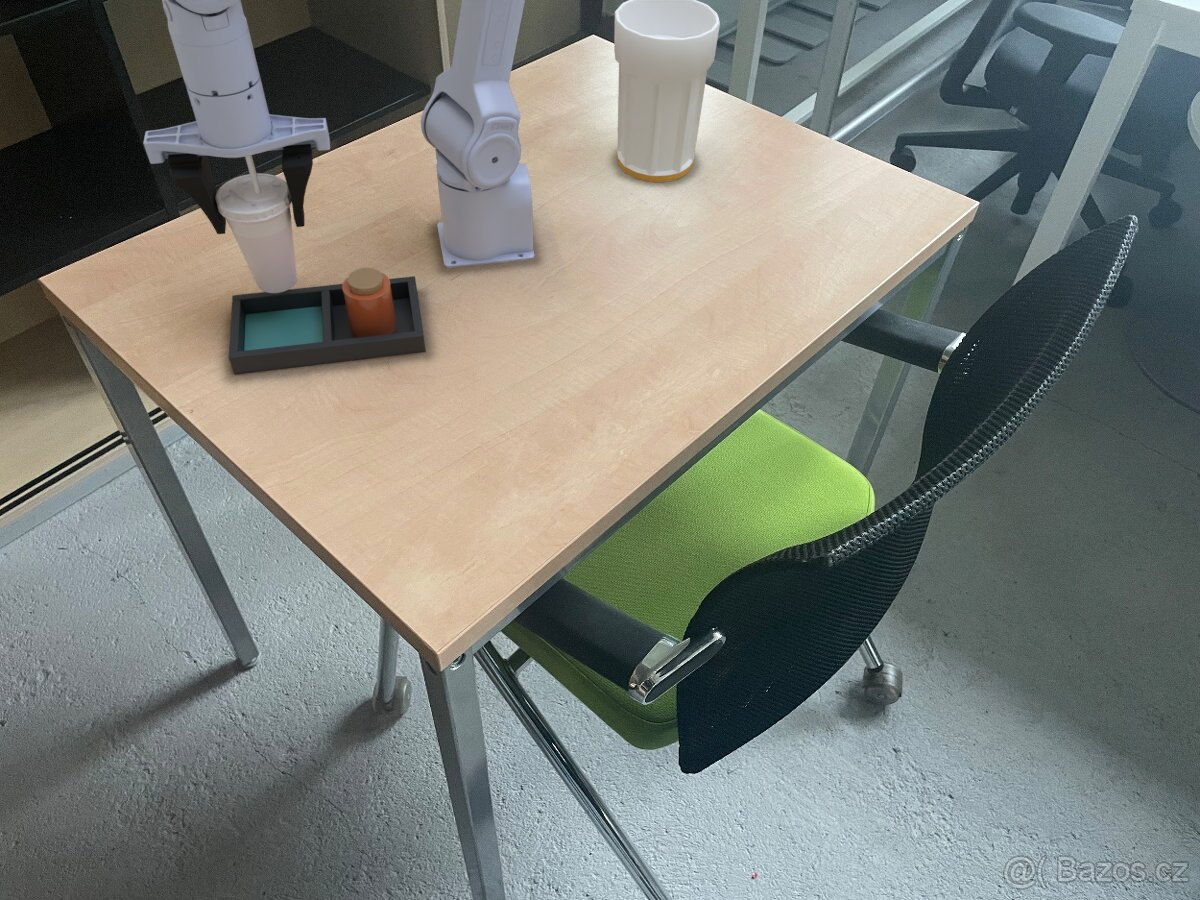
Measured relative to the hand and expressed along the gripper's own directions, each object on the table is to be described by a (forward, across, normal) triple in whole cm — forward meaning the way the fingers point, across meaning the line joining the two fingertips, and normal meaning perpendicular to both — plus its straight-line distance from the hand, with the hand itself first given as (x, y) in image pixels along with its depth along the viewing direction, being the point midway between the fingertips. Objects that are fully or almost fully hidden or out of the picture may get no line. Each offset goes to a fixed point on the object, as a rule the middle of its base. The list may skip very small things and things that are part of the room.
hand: (261, 224), depth 86 cm
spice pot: (+10, -8, +4) cm, 14 cm away
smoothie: (+7, 0, 0) cm, 7 cm away
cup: (+11, -43, -21) cm, 49 cm away
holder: (+10, -4, +4) cm, 12 cm away
